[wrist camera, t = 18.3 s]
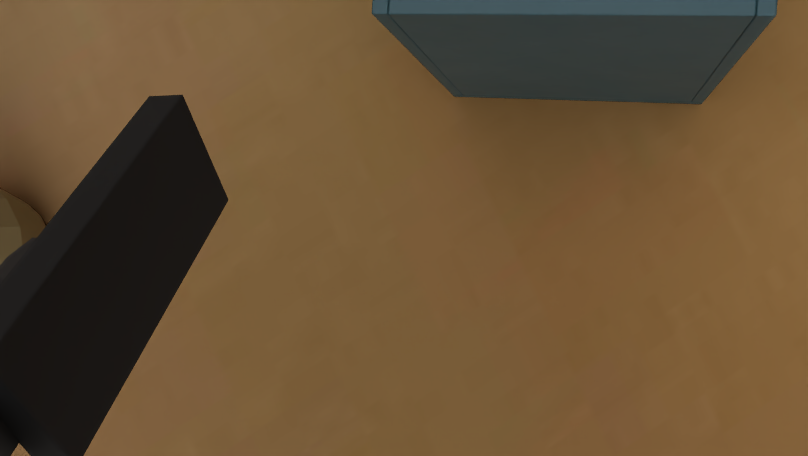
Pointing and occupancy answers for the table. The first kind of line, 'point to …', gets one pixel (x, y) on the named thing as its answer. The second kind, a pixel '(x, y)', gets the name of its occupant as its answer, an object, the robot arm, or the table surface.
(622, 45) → the carton
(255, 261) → the table surface
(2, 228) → the squeeze bottle
